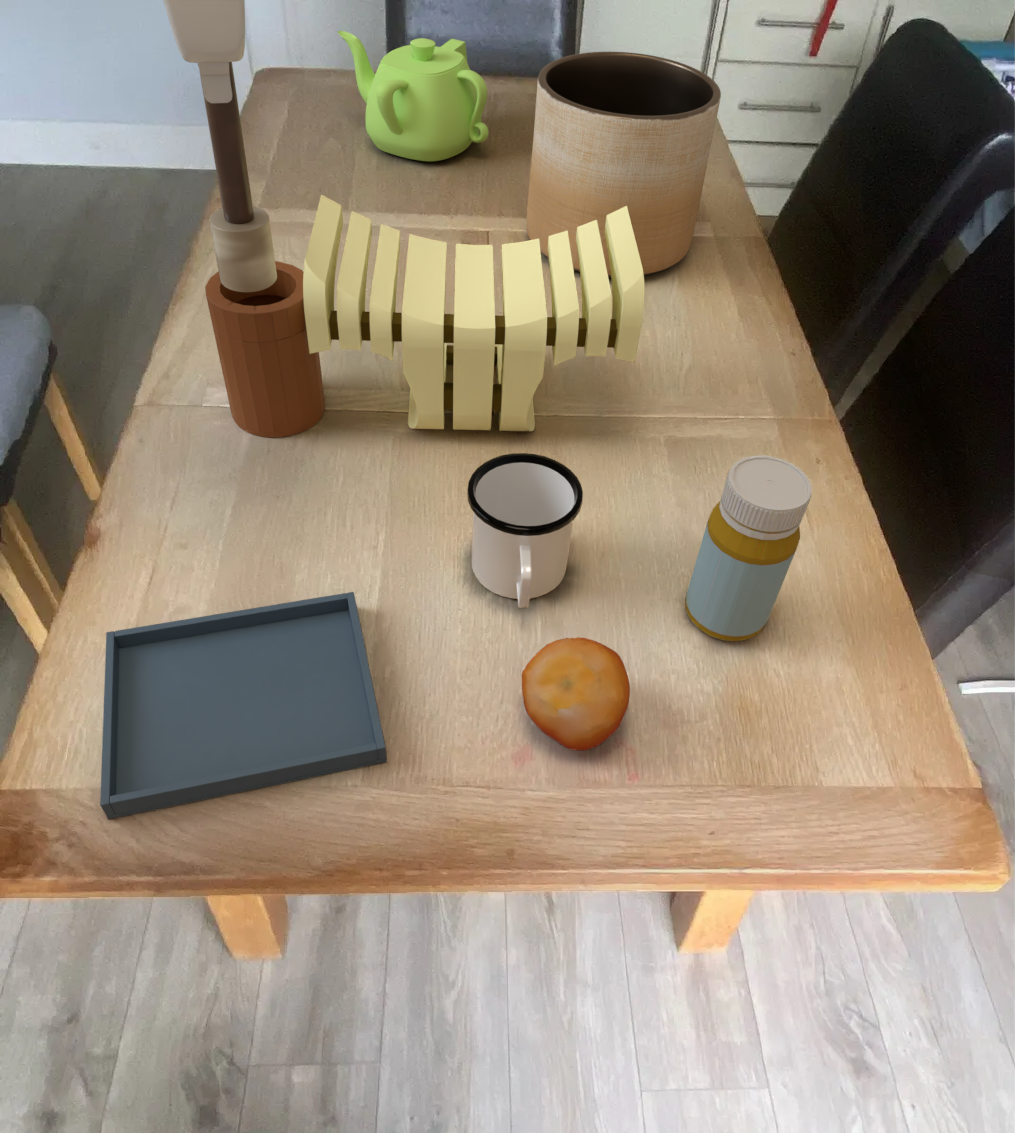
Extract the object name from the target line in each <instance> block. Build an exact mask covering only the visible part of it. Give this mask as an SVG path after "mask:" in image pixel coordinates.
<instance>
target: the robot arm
mask: <svg viewBox="0 0 1015 1133" xmlns="http://www.w3.org/2000/svg"><path fill="white" fill-rule="evenodd" d="M162 1H163V5H164V8H165V11H166V15H167V20H168V22H169V26H170V30H171V32H172V35H173V38H174V41H175V44H176V46H177V50H178V52H179V54H180V56H181V58H182V59H183V60H184V61H185V62H187V63H191V64H197V67H198V71H199V70H200V72H199V75H200V74H201V77H200V80H201V79H202V83H201V86H202V85H203V89H202V92H203V91H204V95H203V98H204V97H205V99H206V100H207V101H208V102H210V103H228V102H230V101H231V100H232V89H231V82H230V75H229V62H232V63H236V62H240V61H242V59H243V58H244V55H245V48H246V8H245V7H246V6H245V0H162Z"/></svg>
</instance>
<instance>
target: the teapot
mask: <svg viewBox="0 0 1015 1133" xmlns="http://www.w3.org/2000/svg"><path fill="white" fill-rule="evenodd" d="M337 34H338V35H339V36H340V37H341V38H342V39H343V40H344V41H345V43H346V45H347V46H348V47H349V49H350V52H351V56H352V58H353V63H354V64H353V65H354V71H355V80H356V85H357V90H358V92H359V95H360V96H361V98H362V100H363V101H364V102H365V104H366V107H365V118H364V120H365V121H364V122H365V130H366V133H367V135H368V136H369V138H370V139H371V141H372V143H373V144H374V145H375V146H376V148H377V149H379V150H381V151H383V152H385V153H388V154H391V155H394V156H398V157H401V158H405V159H409V160H415V161H419V162H420V161H421V162H438V161H443V160H447V159H450V158H453V157H454V156H457V155H459V154H462V153H463V152H464V151H465V150H467V149H468V148H469V147H470V146H471V144H472V143H476V144H481V143H484V142H486V140H487V139H488V138H489V127H488V126H487V125H486V124H485V123H484V122H482V117H483V116H482V115H483V114H484V111H485V107H486V104H487V100H488V86H487V84H486V81H485V80H484V79H483V77H482V75H480V74H479V73H478V72H476V71H474V70H471V67H470V66H469V63H468V54H467V44H466V41H464V40H460V39H455V38H450V39H449V40H447V41H446V42H444V43H443V44H442V45H441V46H437V45H436V41H434V40H433V39H429V38H424V37H421V38H414V39H412V40H410V42H409V44H407V45H403V46H400V47H397V48H395V49H393V50H391V51H389V52H388V53H386V54H385V55H384V56H383V57H382V59H381V60H380V62H379V64H378V66H377V69H376V72H374V70H373V68H372V65H371V63H370V59H369V57H368V53H367V50H366V48H365V46H364V44H363V42H362V41H361V40H360V39H359V37H357V36H356V35H354V34H352V33H351V32H348V31H344V30H337Z"/></svg>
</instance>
